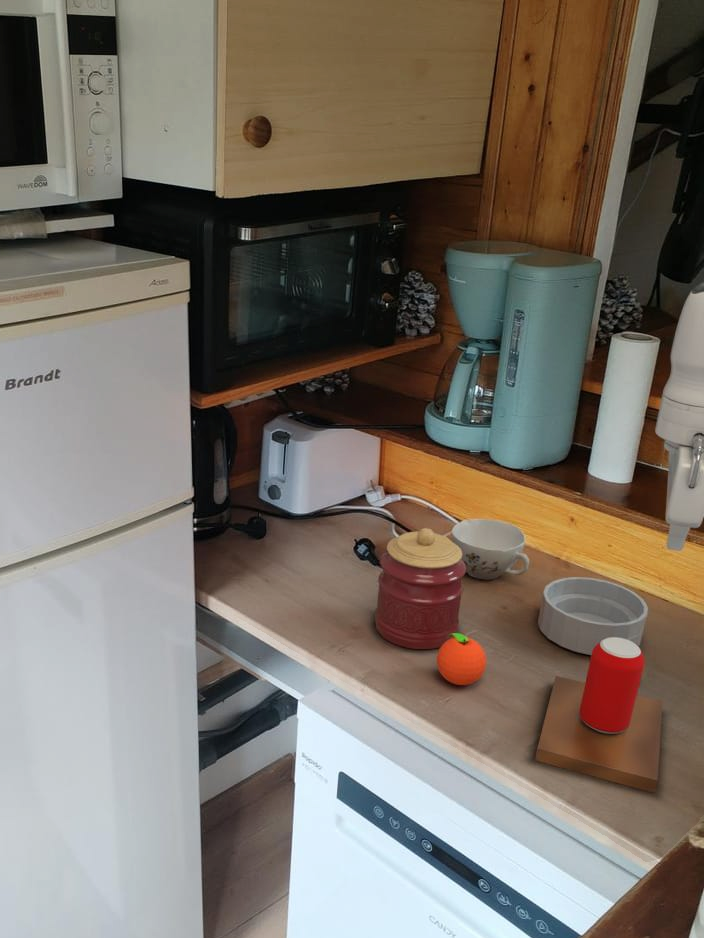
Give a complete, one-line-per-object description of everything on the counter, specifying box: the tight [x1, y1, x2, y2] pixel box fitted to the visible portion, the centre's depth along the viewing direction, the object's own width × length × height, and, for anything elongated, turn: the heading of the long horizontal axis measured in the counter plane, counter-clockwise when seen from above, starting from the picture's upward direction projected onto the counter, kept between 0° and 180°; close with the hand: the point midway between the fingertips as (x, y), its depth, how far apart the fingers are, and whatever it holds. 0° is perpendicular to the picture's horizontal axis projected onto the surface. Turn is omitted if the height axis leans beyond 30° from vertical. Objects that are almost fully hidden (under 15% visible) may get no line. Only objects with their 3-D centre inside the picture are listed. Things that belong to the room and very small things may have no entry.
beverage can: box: [579, 637, 646, 734], centre depth 116 cm, size 6×6×12 cm
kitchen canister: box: [374, 527, 467, 650], centre depth 140 cm, size 13×13×18 cm
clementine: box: [436, 632, 487, 686], centre depth 130 cm, size 8×7×7 cm
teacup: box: [451, 517, 530, 581], centre depth 159 cm, size 15×12×8 cm
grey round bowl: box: [537, 576, 649, 656], centre depth 142 cm, size 15×15×6 cm
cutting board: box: [534, 675, 663, 794], centre depth 119 cm, size 14×18×2 cm
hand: (674, 532), depth 109 cm, fingers open, 8 cm apart
